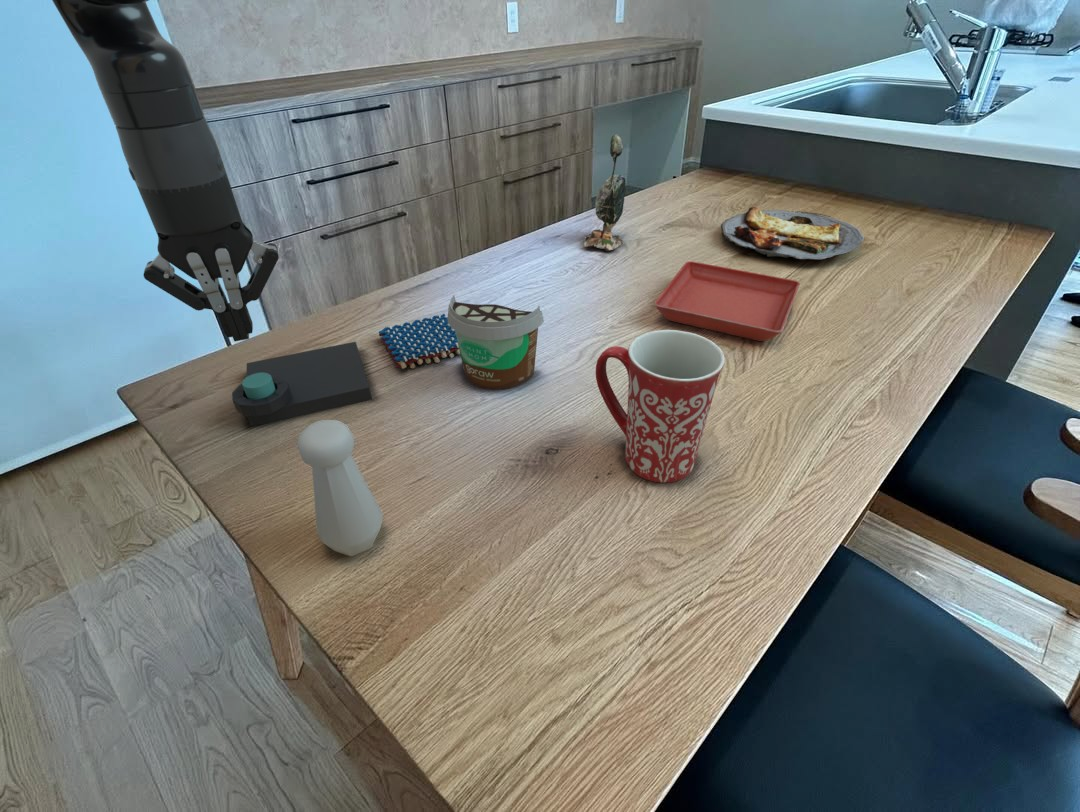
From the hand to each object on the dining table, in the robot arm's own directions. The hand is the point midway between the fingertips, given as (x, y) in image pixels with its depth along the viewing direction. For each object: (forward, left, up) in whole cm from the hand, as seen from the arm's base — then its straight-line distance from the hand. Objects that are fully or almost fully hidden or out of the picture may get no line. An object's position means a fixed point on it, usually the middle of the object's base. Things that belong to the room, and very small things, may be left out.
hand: (241, 336), depth 64 cm
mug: (+38, -24, -11) cm, 46 cm away
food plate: (+94, +19, -11) cm, 96 cm away
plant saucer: (+66, 0, -11) cm, 67 cm away
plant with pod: (+62, +33, -11) cm, 71 cm away
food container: (+27, -4, -11) cm, 29 cm away
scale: (+5, +4, -11) cm, 12 cm away
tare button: (0, 0, -7) cm, 7 cm away
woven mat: (+21, +8, -11) cm, 25 cm away
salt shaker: (+7, -24, -11) cm, 27 cm away
